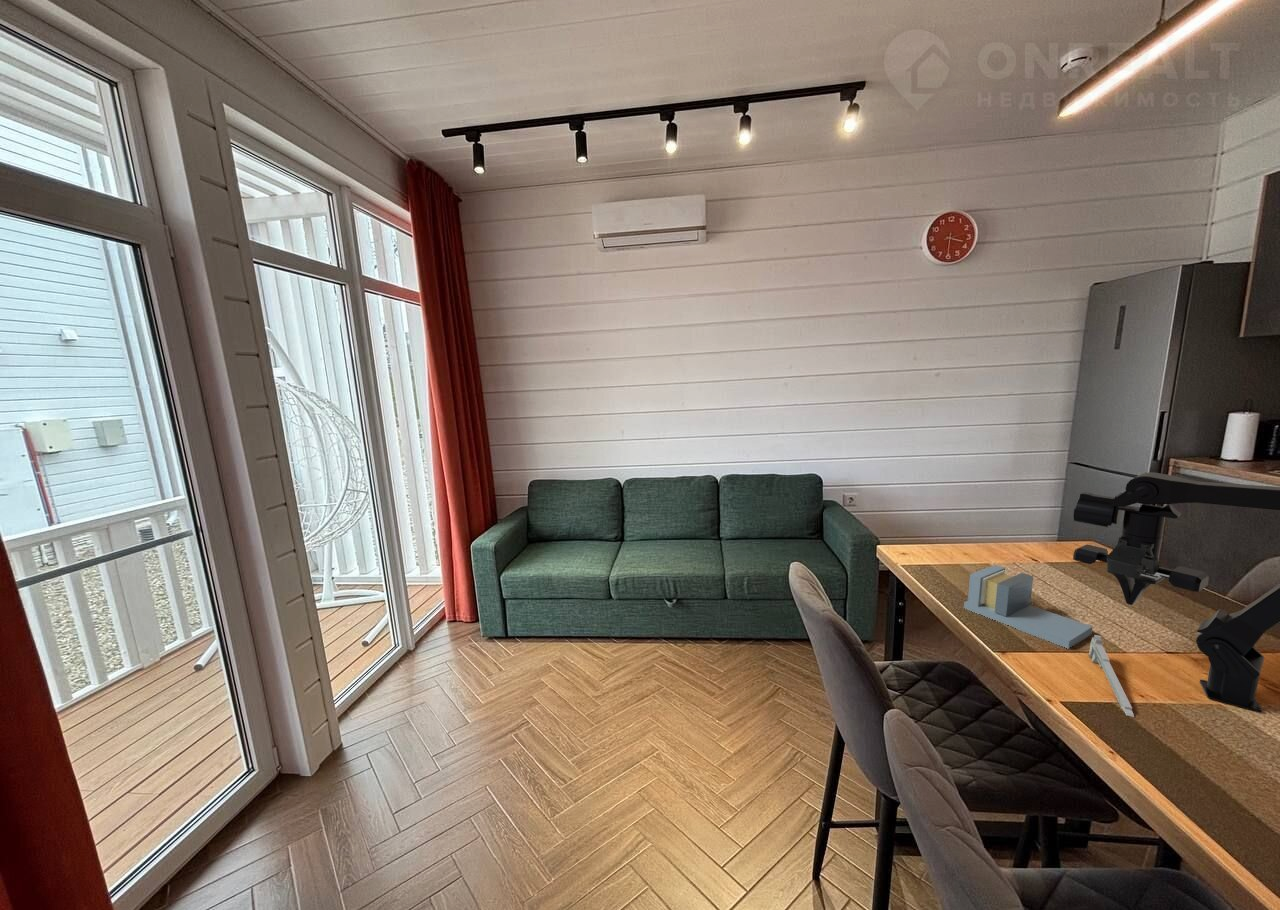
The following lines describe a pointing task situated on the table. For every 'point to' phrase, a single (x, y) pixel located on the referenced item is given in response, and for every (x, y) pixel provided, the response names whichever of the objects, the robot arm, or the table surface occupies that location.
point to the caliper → (1109, 673)
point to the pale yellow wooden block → (993, 589)
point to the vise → (1026, 614)
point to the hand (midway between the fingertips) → (1130, 604)
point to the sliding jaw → (1013, 594)
